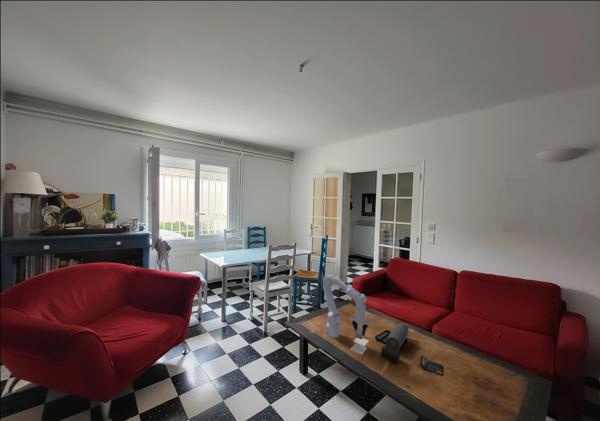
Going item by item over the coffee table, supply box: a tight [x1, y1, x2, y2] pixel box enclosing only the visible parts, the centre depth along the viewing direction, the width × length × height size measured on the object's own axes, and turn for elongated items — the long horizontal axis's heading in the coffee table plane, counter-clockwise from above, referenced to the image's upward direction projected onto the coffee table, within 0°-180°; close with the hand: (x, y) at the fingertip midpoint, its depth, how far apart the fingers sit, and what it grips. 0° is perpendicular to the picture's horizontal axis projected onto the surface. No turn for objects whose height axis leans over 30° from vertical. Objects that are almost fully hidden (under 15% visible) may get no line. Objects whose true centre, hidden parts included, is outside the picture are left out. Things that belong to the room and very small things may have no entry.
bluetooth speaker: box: [386, 322, 409, 350], centre depth 167 cm, size 23×9×10 cm, turn 143°
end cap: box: [380, 344, 401, 364], centre depth 150 cm, size 10×7×7 cm
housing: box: [354, 325, 366, 340], centre depth 160 cm, size 4×6×5 cm
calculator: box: [419, 355, 444, 376], centre depth 144 cm, size 9×12×3 cm
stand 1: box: [353, 337, 369, 347], centre depth 166 cm, size 8×8×2 cm
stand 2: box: [349, 343, 368, 355], centre depth 158 cm, size 8×8×2 cm
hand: (359, 333), depth 160 cm, fingers closed on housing, 4 cm apart
